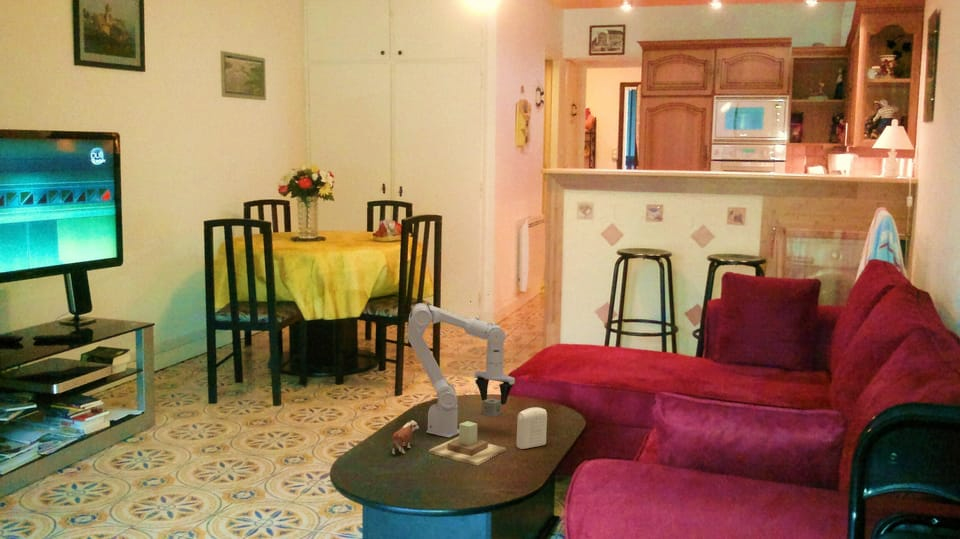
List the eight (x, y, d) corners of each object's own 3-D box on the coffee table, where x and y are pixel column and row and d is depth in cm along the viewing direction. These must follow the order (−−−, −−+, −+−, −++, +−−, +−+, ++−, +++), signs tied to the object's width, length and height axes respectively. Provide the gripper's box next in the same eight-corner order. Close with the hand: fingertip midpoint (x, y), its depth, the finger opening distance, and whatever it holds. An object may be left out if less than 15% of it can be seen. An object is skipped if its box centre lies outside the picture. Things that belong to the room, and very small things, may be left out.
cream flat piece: (428, 453, 267) (428, 443, 267) (458, 439, 280) (458, 430, 280) (477, 465, 257) (477, 455, 257) (505, 450, 271) (506, 441, 270)
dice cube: (481, 414, 308) (482, 401, 307) (489, 411, 312) (490, 397, 311) (493, 417, 305) (494, 403, 304) (501, 414, 309) (501, 400, 308)
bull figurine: (420, 444, 275) (421, 419, 274) (399, 457, 263) (399, 431, 262) (408, 442, 277) (409, 417, 276) (387, 455, 265) (387, 429, 264)
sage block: (458, 442, 268) (459, 423, 267) (467, 439, 271) (467, 421, 271) (468, 445, 266) (469, 426, 265) (477, 442, 269) (477, 423, 268)
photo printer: (540, 441, 280) (541, 404, 279) (548, 445, 277) (549, 407, 275) (514, 446, 275) (515, 408, 273) (522, 450, 271) (523, 412, 270)
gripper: (520, 362, 285) (518, 402, 286) (483, 356, 292) (482, 395, 294) (508, 366, 279) (507, 407, 281) (471, 360, 287) (470, 400, 288)
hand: (493, 401), depth 287 cm, fingers open, 7 cm apart
